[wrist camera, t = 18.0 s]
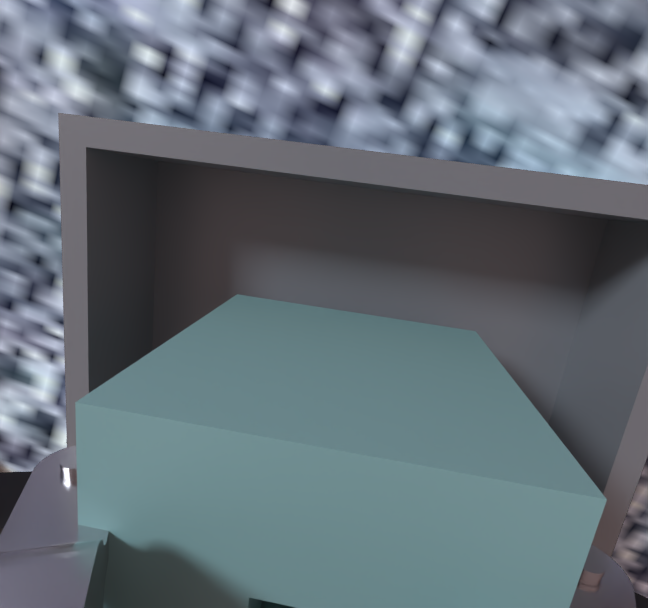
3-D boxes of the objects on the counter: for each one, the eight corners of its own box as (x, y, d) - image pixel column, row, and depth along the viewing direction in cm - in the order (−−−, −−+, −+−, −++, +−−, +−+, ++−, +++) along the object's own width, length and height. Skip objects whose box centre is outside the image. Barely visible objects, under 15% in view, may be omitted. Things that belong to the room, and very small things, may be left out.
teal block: (237, 294, 11) (75, 402, 5) (475, 331, 10) (607, 499, 4) (221, 493, 12) (83, 756, 6) (429, 534, 12) (482, 859, 6)
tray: (149, 139, 12) (58, 113, 9) (626, 198, 11) (741, 196, 8) (140, 519, 15) (71, 612, 12) (507, 595, 14) (550, 722, 11)
